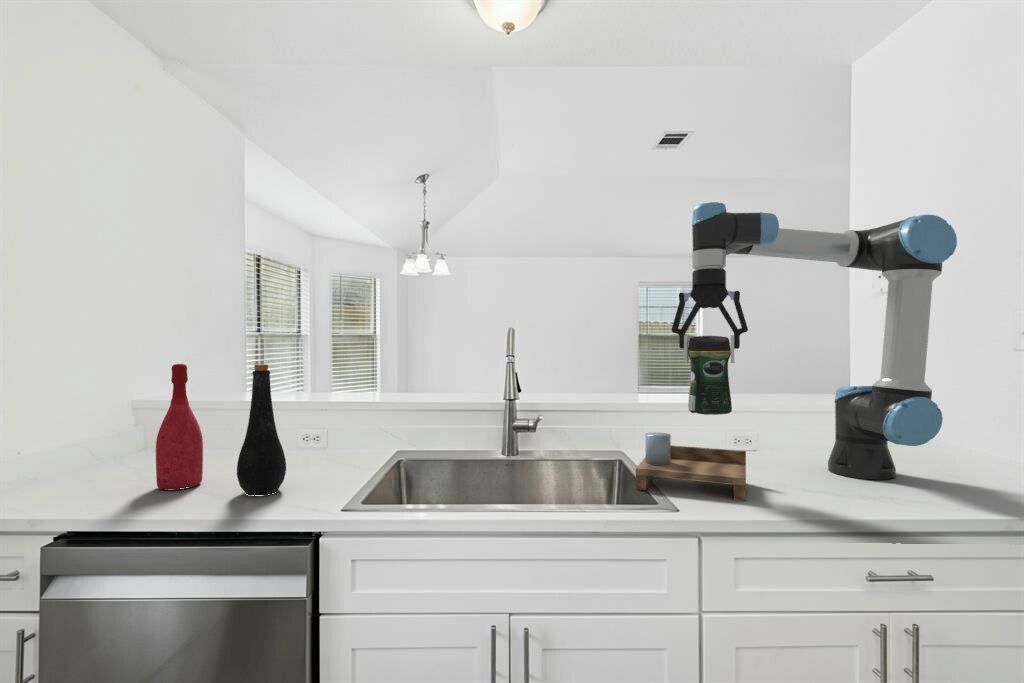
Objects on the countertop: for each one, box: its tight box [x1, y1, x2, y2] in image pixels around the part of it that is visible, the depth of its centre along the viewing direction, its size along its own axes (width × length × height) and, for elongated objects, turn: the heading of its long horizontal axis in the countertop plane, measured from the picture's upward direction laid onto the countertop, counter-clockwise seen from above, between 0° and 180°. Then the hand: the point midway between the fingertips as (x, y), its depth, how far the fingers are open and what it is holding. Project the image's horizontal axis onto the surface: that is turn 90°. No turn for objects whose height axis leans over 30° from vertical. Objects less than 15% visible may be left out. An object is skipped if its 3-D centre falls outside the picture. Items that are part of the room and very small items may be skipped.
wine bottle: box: [155, 363, 204, 491], centre depth 132 cm, size 10×10×30 cm
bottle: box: [236, 363, 287, 496], centre depth 126 cm, size 11×11×30 cm
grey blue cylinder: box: [645, 431, 672, 465], centre depth 134 cm, size 6×6×7 cm
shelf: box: [635, 445, 747, 502], centre depth 130 cm, size 24×16×8 cm, turn 66°
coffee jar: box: [687, 335, 733, 416], centre depth 129 cm, size 10×8×19 cm
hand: (709, 362), depth 129 cm, fingers closed on coffee jar, 10 cm apart
